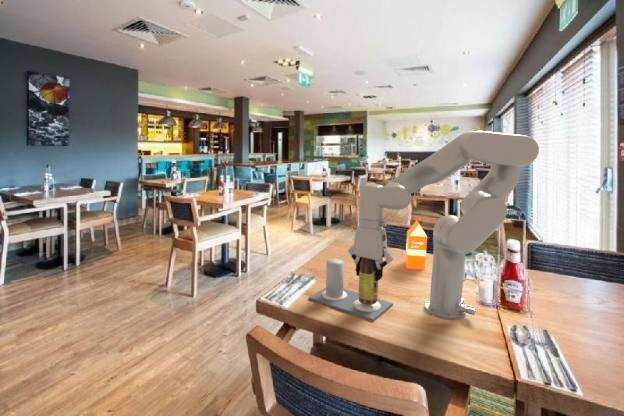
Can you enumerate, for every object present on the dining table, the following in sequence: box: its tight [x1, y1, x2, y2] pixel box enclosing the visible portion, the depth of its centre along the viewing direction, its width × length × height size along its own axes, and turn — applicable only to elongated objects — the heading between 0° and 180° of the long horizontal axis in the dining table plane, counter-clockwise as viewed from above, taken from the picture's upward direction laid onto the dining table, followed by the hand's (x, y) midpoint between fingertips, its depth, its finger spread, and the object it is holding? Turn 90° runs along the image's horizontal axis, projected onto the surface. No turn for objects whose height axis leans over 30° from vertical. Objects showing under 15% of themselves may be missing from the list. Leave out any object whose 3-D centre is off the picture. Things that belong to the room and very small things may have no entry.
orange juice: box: [405, 219, 428, 270], centre depth 156 cm, size 8×9×20 cm
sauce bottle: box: [358, 258, 379, 305], centre depth 114 cm, size 7×6×20 cm
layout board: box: [308, 258, 394, 322], centre depth 119 cm, size 25×14×13 cm, turn 53°
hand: (368, 276), depth 115 cm, fingers closed on sauce bottle, 6 cm apart
